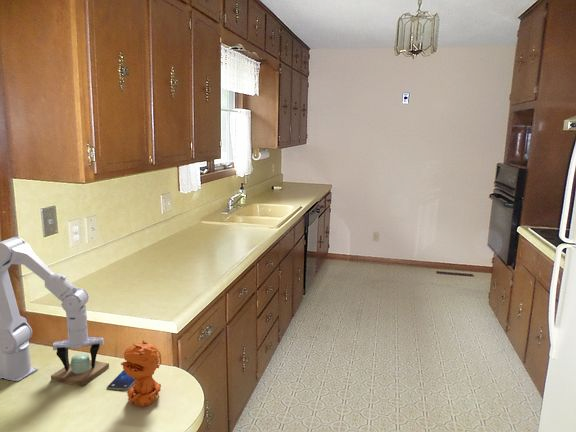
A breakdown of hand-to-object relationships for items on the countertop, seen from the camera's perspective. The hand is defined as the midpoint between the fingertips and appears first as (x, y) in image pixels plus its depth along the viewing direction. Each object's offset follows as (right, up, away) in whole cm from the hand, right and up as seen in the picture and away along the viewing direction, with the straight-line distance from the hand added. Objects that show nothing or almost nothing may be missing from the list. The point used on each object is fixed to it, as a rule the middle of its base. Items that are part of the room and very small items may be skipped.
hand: (80, 367), depth 142 cm
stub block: (0, -2, 0) cm, 2 cm away
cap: (0, -1, 0) cm, 1 cm away
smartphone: (+16, -3, -2) cm, 16 cm away
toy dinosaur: (+25, -5, -14) cm, 29 cm away
